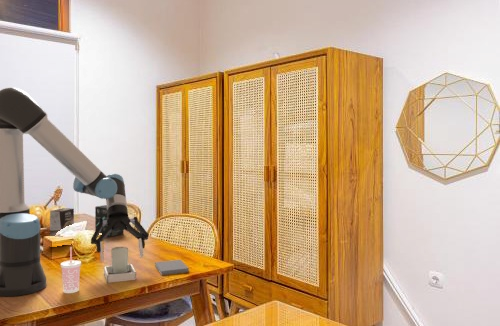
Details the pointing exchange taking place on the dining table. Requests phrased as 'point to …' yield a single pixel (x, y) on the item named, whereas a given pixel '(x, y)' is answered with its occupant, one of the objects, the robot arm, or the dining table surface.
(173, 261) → the plate
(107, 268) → the white tray
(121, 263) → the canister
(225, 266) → the dining table surface
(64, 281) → the beverage cup
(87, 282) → the dining table surface
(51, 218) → the coffee box
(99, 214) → the tampon box
